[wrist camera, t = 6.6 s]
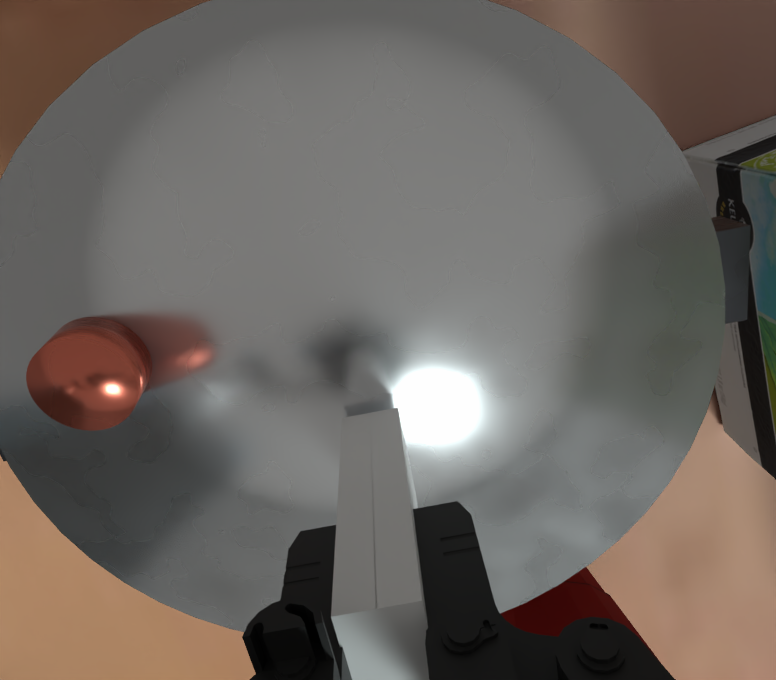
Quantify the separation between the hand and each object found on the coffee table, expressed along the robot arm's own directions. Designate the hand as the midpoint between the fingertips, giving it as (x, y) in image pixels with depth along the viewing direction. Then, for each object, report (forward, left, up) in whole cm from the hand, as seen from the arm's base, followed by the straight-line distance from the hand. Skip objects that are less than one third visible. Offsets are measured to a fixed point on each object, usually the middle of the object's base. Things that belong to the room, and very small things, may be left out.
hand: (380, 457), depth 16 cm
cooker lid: (0, +2, -2) cm, 2 cm away
